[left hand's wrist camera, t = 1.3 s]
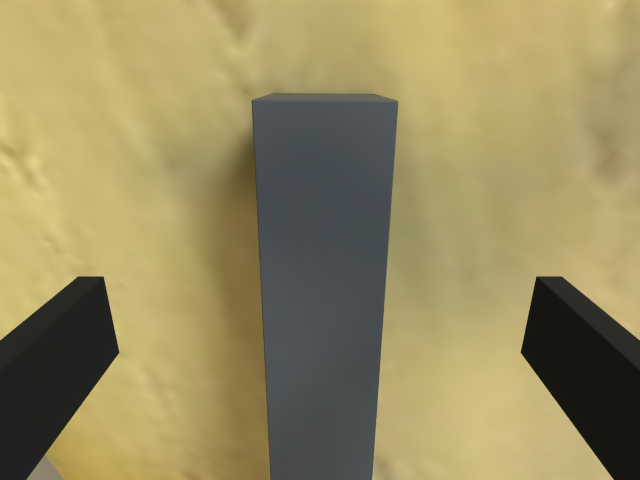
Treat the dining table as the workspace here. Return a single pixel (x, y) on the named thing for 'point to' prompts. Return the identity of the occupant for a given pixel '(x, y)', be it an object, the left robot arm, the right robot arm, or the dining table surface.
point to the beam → (323, 275)
